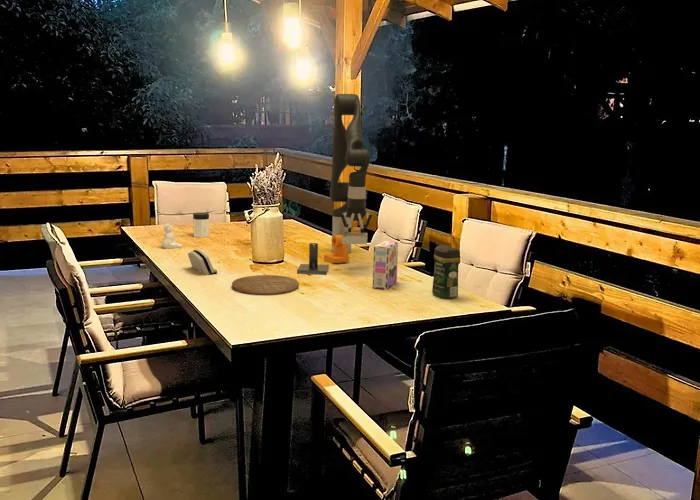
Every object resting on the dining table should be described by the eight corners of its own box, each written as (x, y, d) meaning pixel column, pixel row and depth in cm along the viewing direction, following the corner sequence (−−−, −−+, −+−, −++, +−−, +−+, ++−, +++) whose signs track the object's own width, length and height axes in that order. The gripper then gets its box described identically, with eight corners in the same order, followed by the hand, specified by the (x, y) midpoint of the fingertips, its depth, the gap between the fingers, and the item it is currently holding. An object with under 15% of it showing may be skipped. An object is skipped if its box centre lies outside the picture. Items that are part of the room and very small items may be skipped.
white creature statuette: (182, 248, 323) (182, 223, 321) (165, 250, 318) (164, 225, 316) (175, 245, 331) (175, 221, 329) (158, 246, 326) (157, 222, 324)
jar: (198, 238, 351) (197, 215, 348) (189, 236, 356) (189, 213, 354) (213, 236, 357) (212, 213, 355) (204, 234, 363) (204, 212, 360)
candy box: (386, 290, 254) (388, 247, 251) (372, 288, 256) (373, 245, 253) (397, 282, 267) (398, 241, 264) (383, 280, 269) (384, 239, 266)
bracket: (323, 260, 305) (323, 233, 303) (337, 258, 308) (337, 232, 306) (334, 264, 296) (334, 237, 293) (348, 263, 299) (349, 236, 297)
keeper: (300, 267, 289) (301, 240, 287) (328, 268, 288) (329, 241, 286) (297, 273, 277) (297, 246, 275) (326, 274, 277) (326, 247, 274)
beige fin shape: (218, 274, 273) (210, 251, 270) (208, 279, 271) (199, 256, 268) (203, 265, 287) (195, 244, 284) (193, 270, 285) (185, 249, 282)
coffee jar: (428, 293, 251) (430, 244, 247) (446, 291, 254) (448, 243, 250) (443, 300, 242) (445, 249, 238) (461, 298, 246) (464, 247, 242)
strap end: (344, 235, 293) (344, 226, 292) (367, 236, 292) (367, 227, 291) (342, 243, 276) (342, 234, 275) (366, 244, 276) (366, 234, 275)
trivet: (225, 282, 262) (225, 277, 261) (286, 277, 271) (286, 273, 271) (241, 298, 239) (241, 293, 239) (308, 293, 249) (308, 288, 249)
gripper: (373, 196, 289) (372, 235, 292) (340, 195, 289) (339, 234, 293) (373, 198, 281) (372, 239, 285) (339, 197, 282) (338, 238, 286)
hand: (355, 236), depth 289 cm, fingers closed on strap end, 4 cm apart
